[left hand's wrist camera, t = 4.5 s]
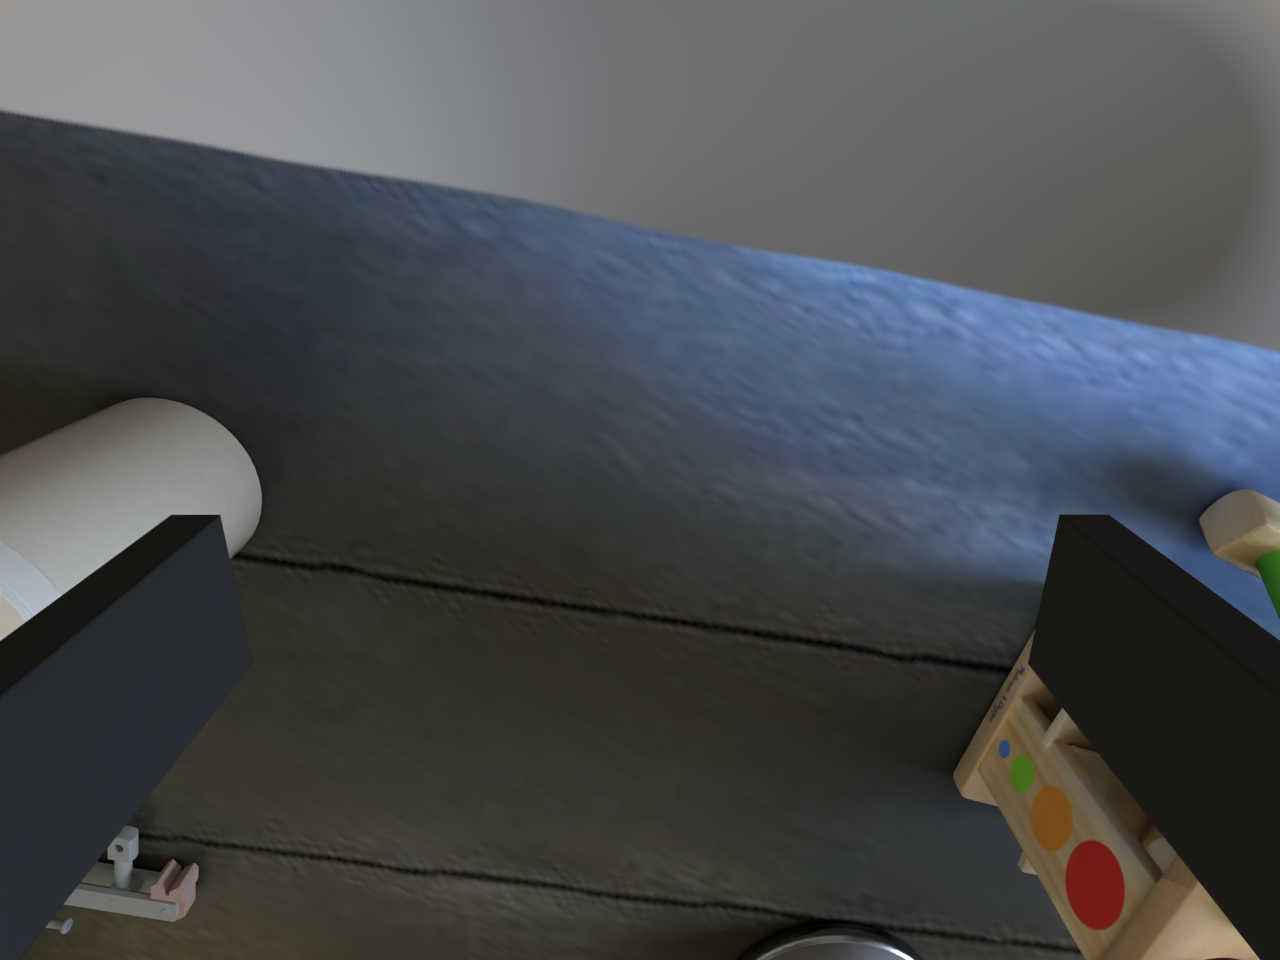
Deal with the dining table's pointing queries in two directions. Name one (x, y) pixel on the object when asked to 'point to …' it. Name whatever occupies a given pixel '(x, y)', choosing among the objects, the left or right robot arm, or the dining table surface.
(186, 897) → the clamp
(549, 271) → the dining table surface
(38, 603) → the lid
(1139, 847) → the pounding bench toy
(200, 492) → the jar
